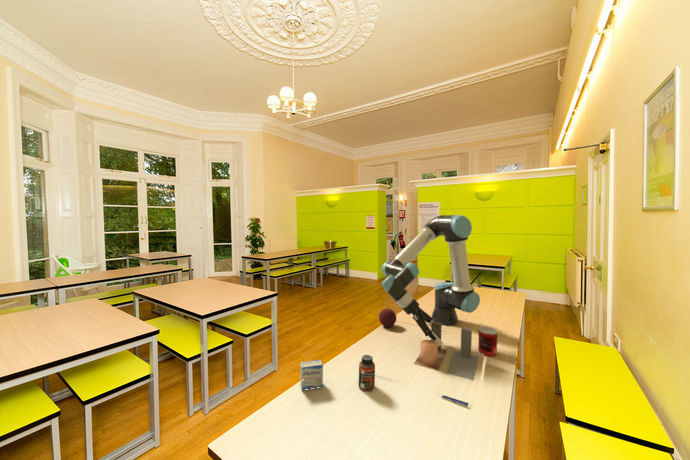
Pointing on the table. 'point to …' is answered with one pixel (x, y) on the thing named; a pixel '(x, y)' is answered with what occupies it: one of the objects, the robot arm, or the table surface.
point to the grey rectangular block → (464, 358)
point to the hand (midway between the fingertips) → (440, 338)
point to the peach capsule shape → (428, 352)
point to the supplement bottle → (367, 373)
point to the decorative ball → (387, 317)
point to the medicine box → (311, 374)
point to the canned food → (487, 341)
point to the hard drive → (455, 401)
